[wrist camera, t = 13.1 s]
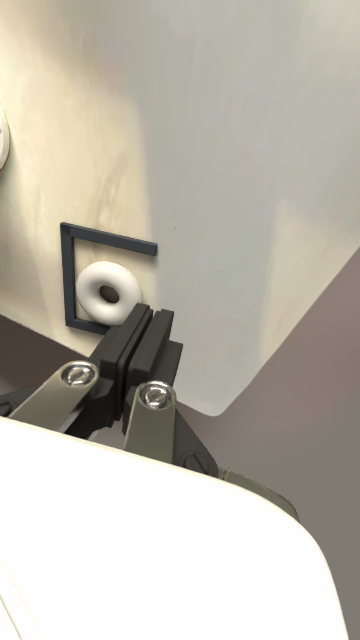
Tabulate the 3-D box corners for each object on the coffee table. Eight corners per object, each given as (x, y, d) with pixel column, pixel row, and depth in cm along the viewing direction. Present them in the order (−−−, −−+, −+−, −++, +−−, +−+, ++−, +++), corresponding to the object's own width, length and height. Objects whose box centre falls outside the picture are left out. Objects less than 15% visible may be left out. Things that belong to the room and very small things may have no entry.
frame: (68, 323, 49) (65, 325, 48) (62, 221, 40) (59, 223, 39) (144, 342, 48) (143, 345, 48) (157, 243, 39) (156, 245, 38)
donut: (143, 259, 41) (76, 256, 42) (135, 268, 38) (64, 264, 39) (147, 320, 46) (87, 315, 47) (141, 332, 43) (78, 326, 44)
